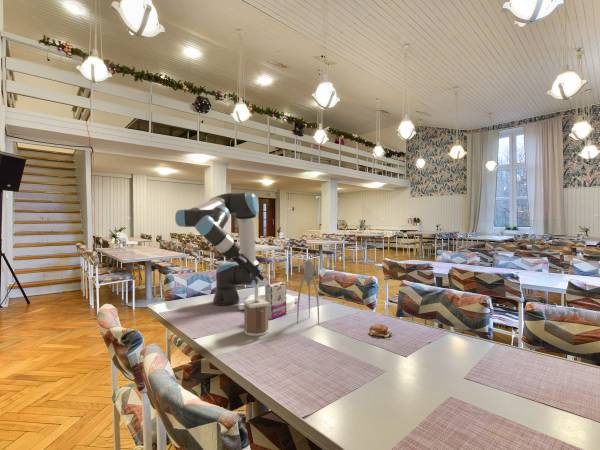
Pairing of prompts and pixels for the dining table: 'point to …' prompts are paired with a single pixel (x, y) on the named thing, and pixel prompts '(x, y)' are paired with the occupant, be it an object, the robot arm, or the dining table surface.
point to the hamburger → (380, 330)
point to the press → (256, 317)
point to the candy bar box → (276, 299)
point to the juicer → (308, 277)
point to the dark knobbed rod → (256, 286)
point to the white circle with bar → (289, 299)
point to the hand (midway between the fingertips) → (264, 282)
